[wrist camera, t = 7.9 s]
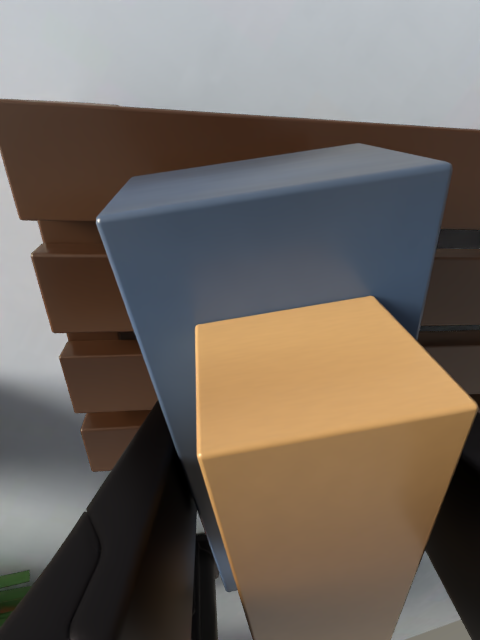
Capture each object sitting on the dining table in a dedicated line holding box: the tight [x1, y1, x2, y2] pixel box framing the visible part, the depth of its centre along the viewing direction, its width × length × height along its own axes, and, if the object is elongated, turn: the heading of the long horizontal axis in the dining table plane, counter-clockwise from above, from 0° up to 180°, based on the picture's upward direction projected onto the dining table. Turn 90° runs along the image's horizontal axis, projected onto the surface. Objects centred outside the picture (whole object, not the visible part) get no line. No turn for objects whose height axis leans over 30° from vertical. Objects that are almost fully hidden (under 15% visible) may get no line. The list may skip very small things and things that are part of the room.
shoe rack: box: [0, 99, 480, 472], centre depth 13 cm, size 11×22×5 cm, turn 87°
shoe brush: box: [96, 143, 479, 640], centre depth 7 cm, size 10×4×6 cm, turn 7°
